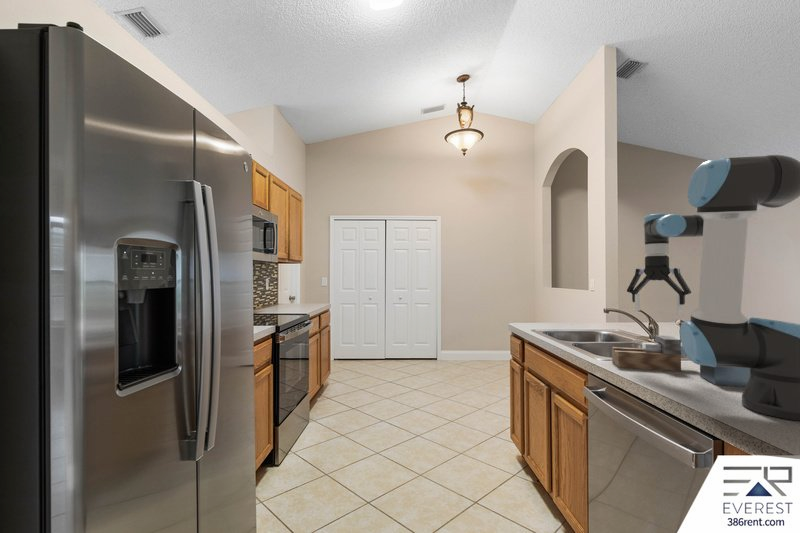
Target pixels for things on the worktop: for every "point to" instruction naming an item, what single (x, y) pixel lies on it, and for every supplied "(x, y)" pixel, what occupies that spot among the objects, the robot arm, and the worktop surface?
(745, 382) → the v block
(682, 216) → the robot arm
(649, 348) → the steel bar
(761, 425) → the worktop surface
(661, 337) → the wooden box
